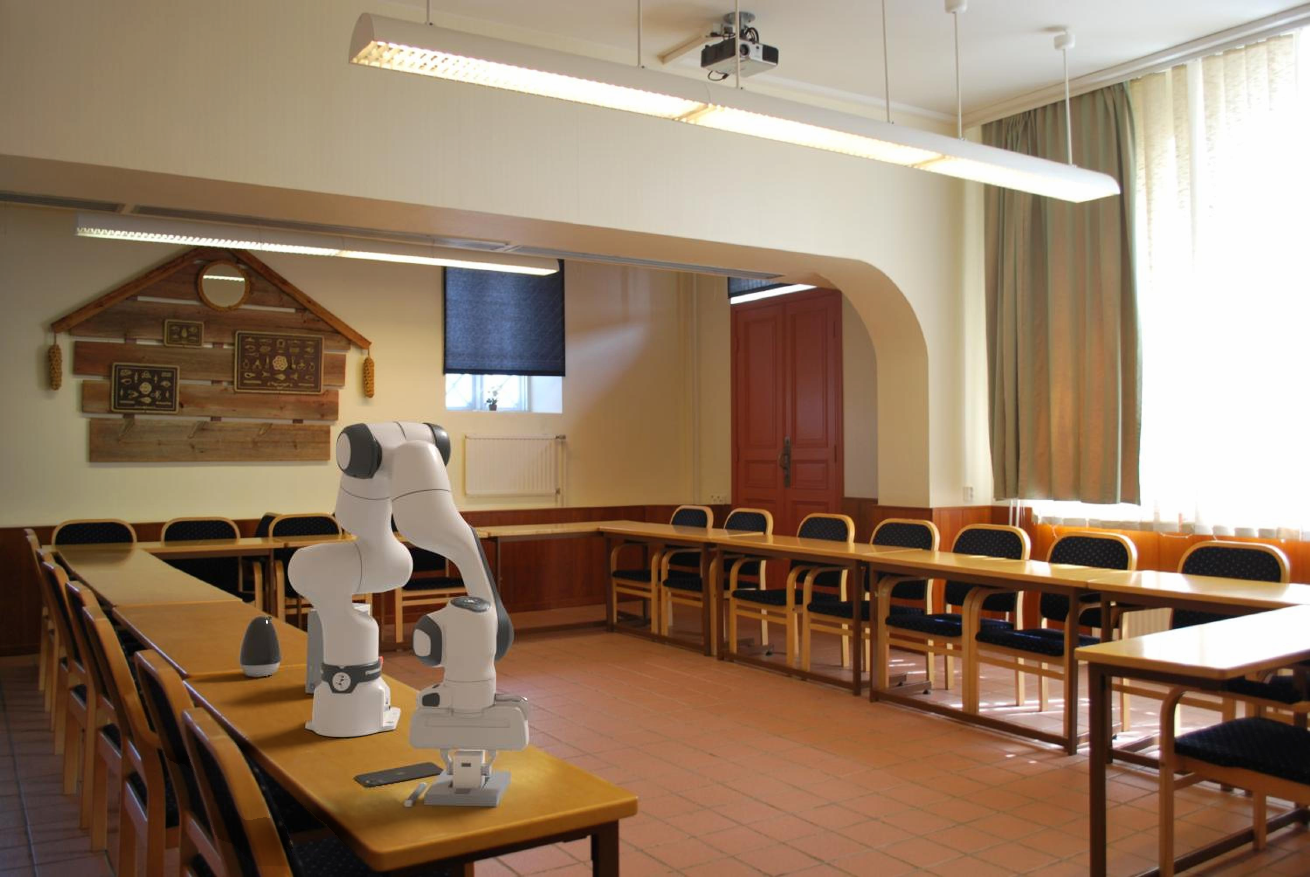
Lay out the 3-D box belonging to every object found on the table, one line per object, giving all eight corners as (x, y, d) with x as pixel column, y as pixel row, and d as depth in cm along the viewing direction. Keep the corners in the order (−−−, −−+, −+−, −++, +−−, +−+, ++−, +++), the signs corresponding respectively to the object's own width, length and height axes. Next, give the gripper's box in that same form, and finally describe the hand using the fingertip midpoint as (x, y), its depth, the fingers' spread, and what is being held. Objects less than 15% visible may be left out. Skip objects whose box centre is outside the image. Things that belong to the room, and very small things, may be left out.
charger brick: (458, 782, 180) (459, 747, 180) (484, 783, 180) (485, 748, 180) (452, 791, 176) (453, 755, 176) (479, 791, 176) (479, 756, 176)
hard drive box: (331, 696, 246) (332, 612, 246) (304, 694, 248) (305, 610, 248) (370, 682, 260) (370, 603, 261) (344, 680, 263) (344, 601, 263)
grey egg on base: (288, 671, 273) (289, 613, 273) (269, 680, 263) (270, 619, 263) (251, 670, 274) (252, 612, 274) (231, 678, 264) (231, 618, 264)
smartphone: (448, 770, 189) (367, 786, 180) (448, 775, 189) (367, 790, 180) (431, 760, 195) (352, 774, 186) (431, 764, 195) (352, 779, 186)
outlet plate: (443, 779, 185) (443, 769, 185) (510, 781, 184) (510, 770, 184) (424, 805, 172) (424, 793, 172) (496, 806, 171) (496, 795, 171)
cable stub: (420, 787, 181) (420, 781, 181) (427, 788, 181) (427, 781, 181) (403, 808, 171) (403, 800, 171) (410, 808, 171) (411, 801, 171)
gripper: (533, 690, 181) (532, 770, 181) (416, 688, 182) (415, 767, 182) (527, 699, 175) (526, 781, 174) (406, 696, 175) (405, 779, 175)
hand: (469, 774), depth 178 cm, fingers closed on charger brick, 4 cm apart
